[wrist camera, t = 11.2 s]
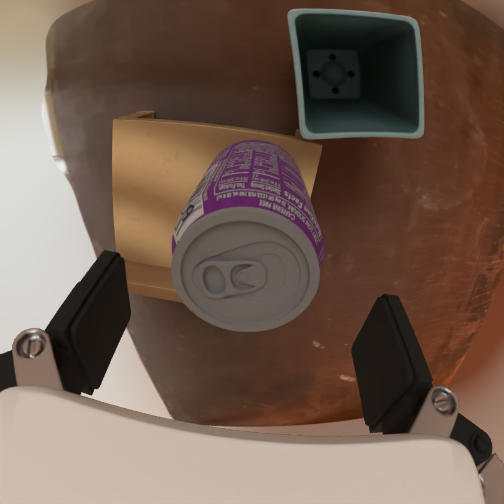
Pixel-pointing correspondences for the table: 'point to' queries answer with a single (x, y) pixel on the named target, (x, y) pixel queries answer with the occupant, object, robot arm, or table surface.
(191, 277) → the beverage can
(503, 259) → the table surface
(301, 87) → the flower pot
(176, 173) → the wooden block with backrest
